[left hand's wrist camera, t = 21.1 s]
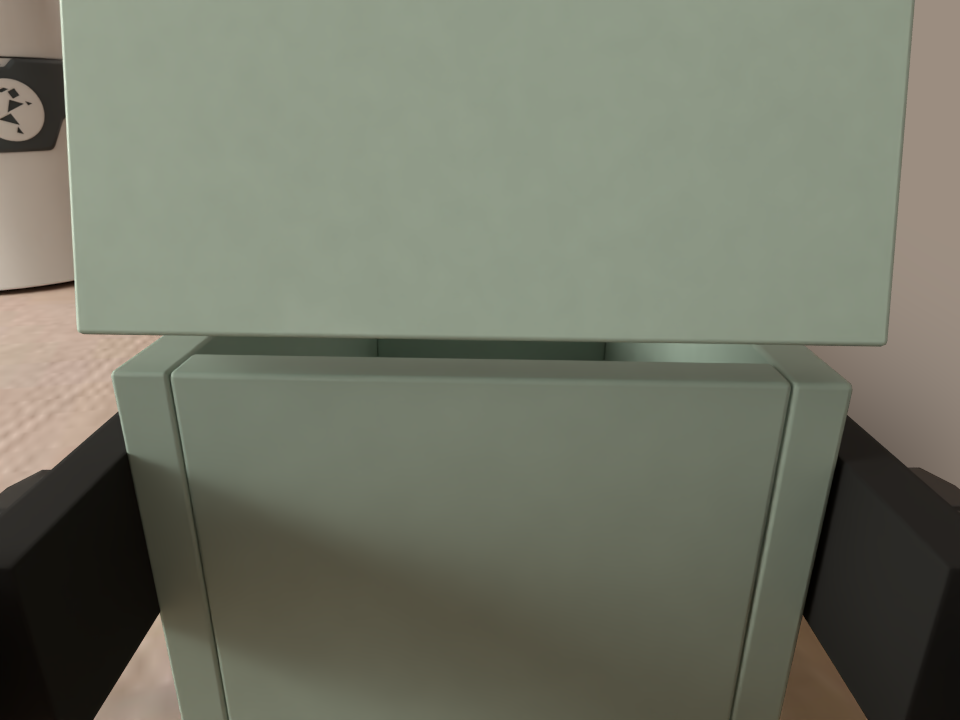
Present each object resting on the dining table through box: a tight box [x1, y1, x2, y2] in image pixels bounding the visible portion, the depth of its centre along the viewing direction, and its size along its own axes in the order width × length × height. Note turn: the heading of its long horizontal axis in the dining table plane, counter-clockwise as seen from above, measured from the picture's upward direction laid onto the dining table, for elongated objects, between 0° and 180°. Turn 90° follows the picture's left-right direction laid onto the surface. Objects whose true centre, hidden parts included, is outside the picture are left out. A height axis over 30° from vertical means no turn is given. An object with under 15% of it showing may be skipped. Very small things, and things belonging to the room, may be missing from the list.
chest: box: [111, 335, 852, 720], centre depth 17 cm, size 15×10×9 cm, turn 178°
